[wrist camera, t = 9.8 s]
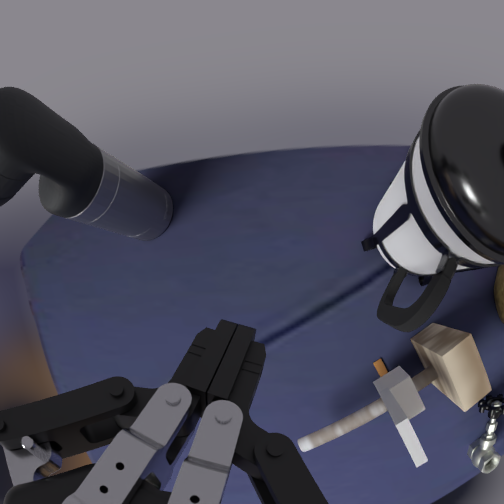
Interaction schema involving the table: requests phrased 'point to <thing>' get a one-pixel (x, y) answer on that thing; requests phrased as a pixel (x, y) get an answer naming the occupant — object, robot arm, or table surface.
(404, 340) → the table surface
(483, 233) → the coffee press
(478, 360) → the rod stand
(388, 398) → the white upright panel
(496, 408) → the valve
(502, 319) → the weight
